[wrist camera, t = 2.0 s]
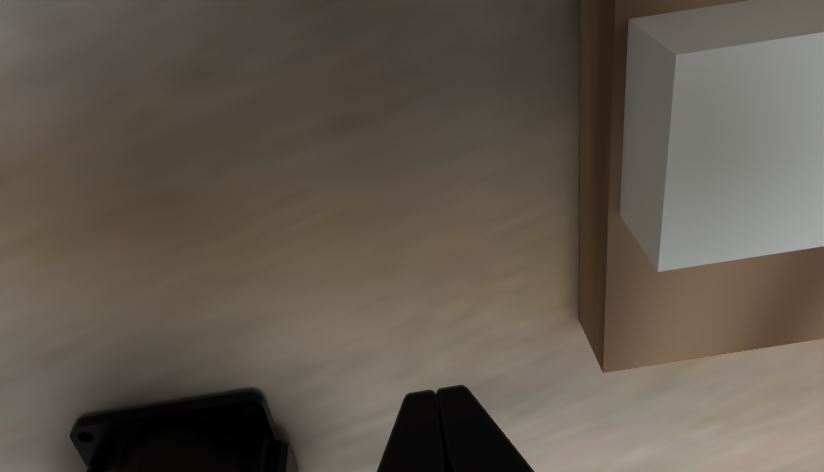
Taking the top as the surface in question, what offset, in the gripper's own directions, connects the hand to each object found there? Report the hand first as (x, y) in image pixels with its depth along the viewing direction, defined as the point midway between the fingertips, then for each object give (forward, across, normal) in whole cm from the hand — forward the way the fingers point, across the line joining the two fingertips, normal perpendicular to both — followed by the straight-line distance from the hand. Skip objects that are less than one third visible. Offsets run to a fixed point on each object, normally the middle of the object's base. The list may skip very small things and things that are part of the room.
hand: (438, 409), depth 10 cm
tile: (+8, -8, 0) cm, 11 cm away
